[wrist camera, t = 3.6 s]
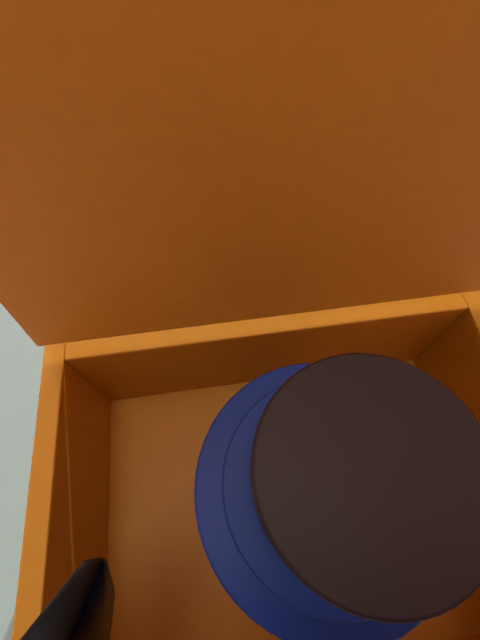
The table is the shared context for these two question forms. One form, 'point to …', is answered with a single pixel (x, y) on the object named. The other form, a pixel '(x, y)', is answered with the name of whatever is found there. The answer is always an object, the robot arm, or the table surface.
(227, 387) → the box
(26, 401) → the table surface
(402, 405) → the bottle
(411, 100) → the lunchbox lid
